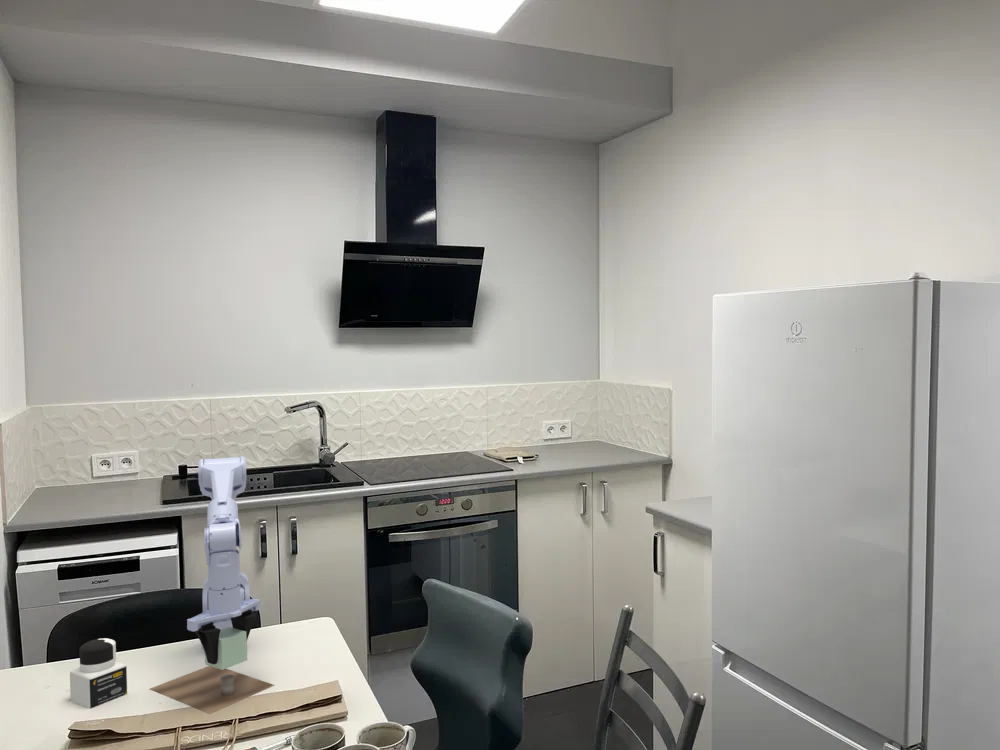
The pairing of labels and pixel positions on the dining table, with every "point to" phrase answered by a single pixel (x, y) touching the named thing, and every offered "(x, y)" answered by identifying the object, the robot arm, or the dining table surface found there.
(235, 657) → the mint green cube
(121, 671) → the medicine bottle
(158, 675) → the dining table surface
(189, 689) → the base board
